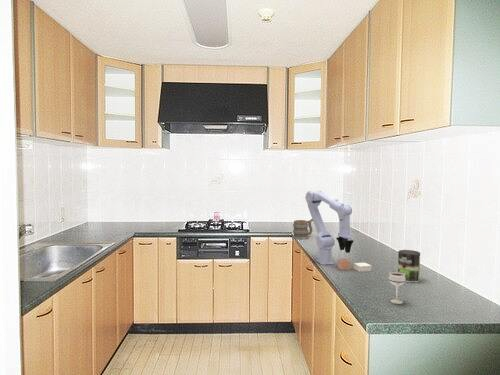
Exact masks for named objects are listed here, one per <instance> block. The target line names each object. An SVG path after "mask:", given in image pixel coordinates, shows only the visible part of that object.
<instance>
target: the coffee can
mask: <svg viewBox="0 0 500 375" xmlns="http://www.w3.org/2000/svg"><path fill="white" fill-rule="evenodd" d="M397 252H398V261H397V262H398V263H397V266H398V268H397V272H403V273H405V274H406V275H405V278H406V281H405V283H412V284H414V283H419V282H420V275H421V274H420V271H421V270H420V268H421V267H420V266H421V252H420V251H417V250H413V249H400V250H398V251H397Z"/></svg>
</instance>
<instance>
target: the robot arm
mask: <svg viewBox="0 0 500 375" xmlns="http://www.w3.org/2000/svg"><path fill="white" fill-rule="evenodd" d="M304 198H305V202H306V204H307V208H308V211H309V214H310V216H311V219H313V221H312V223H313V224H314V227H315V230H316V233H317V234H316V236H315V240H316V245H317V246H316V247H318V249H317V257H316V258H317V259H316V260H315V262H317V263H318V264H320V265H334V264H335V262H333V261H332V260H333V259H332V258H333V248H334V246H335V243H336V242H335V238H334V237H333V235H332V233H331V232H329V231H328V230H327V228H326V226H325V223H324V220H323V218H322V215H321V213H320V210H319V206H320V205H321V203H322V202H324V203H325V204H327V205H328V206H329V208H330V209H331V210H333V211H335V212H336V213H337V216H338V219H339V224H338V225H339V226H338V227H339V228H338V229H339V230H338V231H339V232H338V233H337V237H336V240H337V244H338V247H339V250H340V251H344V250H345V253H346V254H347V253H348V254H349V253H351V248H352V245H353V244H354V240H353V237H352V236H353V234H351V215H352V213H353V209H352V207H351V205H349V204H346V205H345V203H342V202H341V201H339V199H338V198H337V199H336V198H334V199H332V198H331V197H329V196H328V195H326V194H325V192H324V191H322V190H312V191H311V190H309V191H307V192H306V194H305V197H304Z"/></svg>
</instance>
